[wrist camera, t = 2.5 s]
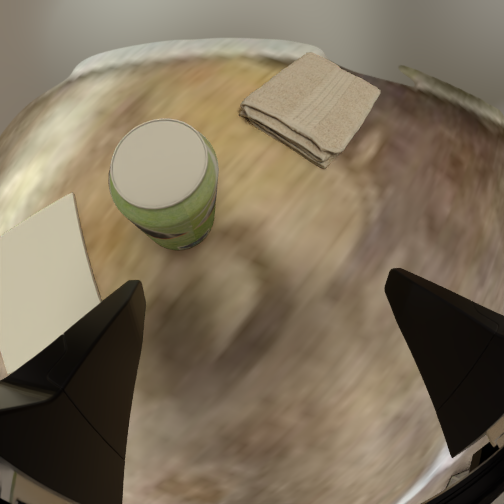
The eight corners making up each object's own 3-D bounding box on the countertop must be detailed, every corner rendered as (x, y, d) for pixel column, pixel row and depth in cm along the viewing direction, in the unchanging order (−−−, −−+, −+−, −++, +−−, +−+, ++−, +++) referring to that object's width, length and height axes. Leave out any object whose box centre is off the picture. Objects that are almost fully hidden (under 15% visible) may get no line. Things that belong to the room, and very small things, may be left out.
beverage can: (201, 180, 25) (194, 80, 14) (231, 251, 24) (244, 178, 12) (137, 203, 24) (90, 116, 12) (161, 279, 22) (108, 229, 11)
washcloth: (232, 121, 28) (234, 101, 25) (305, 59, 33) (310, 43, 30) (327, 179, 27) (338, 163, 24) (376, 100, 33) (385, 86, 30)
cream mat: (10, 373, 17) (7, 374, 17) (-15, 250, 20) (-18, 248, 20) (112, 331, 21) (110, 331, 20) (74, 194, 23) (72, 192, 23)
